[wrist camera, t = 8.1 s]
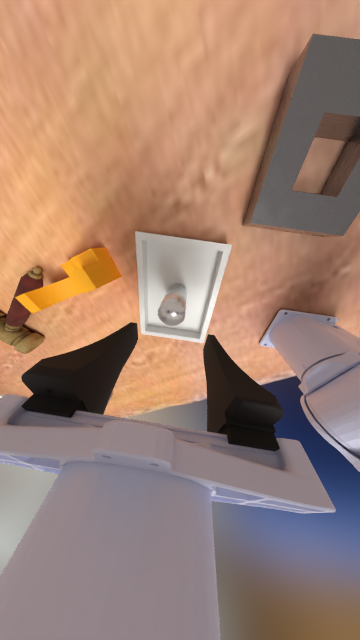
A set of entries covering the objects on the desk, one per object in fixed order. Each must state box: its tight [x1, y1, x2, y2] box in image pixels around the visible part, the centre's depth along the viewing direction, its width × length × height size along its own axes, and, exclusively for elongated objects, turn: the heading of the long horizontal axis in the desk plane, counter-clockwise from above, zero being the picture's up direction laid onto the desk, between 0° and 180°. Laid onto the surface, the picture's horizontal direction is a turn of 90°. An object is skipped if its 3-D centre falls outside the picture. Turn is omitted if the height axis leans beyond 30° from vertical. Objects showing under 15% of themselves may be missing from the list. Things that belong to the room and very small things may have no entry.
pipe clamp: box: [15, 247, 121, 313], centre depth 18 cm, size 12×4×6 cm, turn 110°
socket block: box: [243, 34, 360, 237], centre depth 12 cm, size 10×10×2 cm
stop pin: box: [158, 283, 187, 326], centre depth 18 cm, size 3×3×7 cm
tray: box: [135, 231, 232, 343], centre depth 20 cm, size 12×16×2 cm
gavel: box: [0, 267, 45, 354], centre depth 24 cm, size 21×5×10 cm
